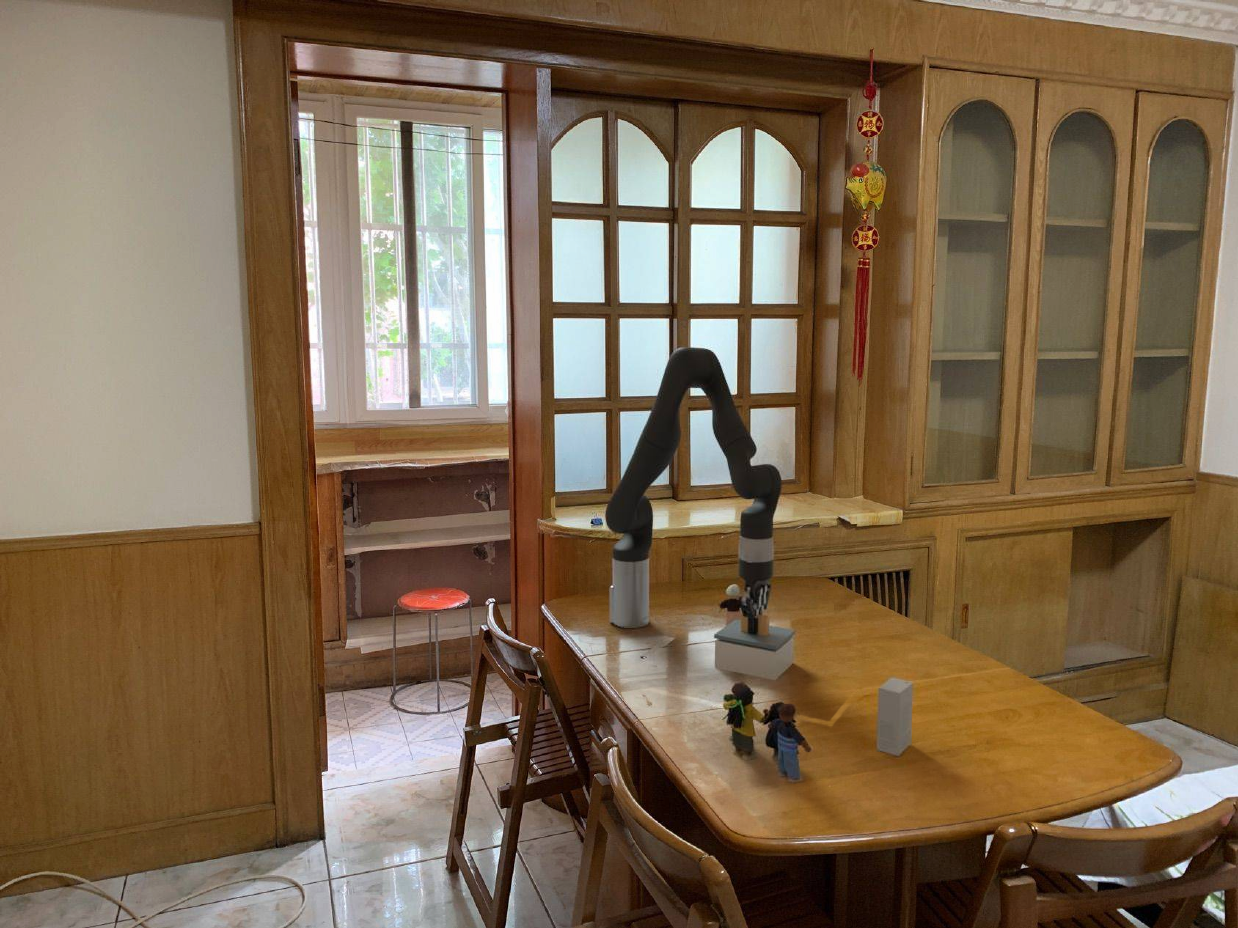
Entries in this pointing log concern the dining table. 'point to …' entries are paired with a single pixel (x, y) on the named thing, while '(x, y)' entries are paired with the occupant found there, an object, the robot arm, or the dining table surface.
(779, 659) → the small white cabinet
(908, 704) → the skincare box
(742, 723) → the doll family
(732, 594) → the grandmother figurine
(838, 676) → the dining table surface
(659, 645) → the mat
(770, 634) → the lid
